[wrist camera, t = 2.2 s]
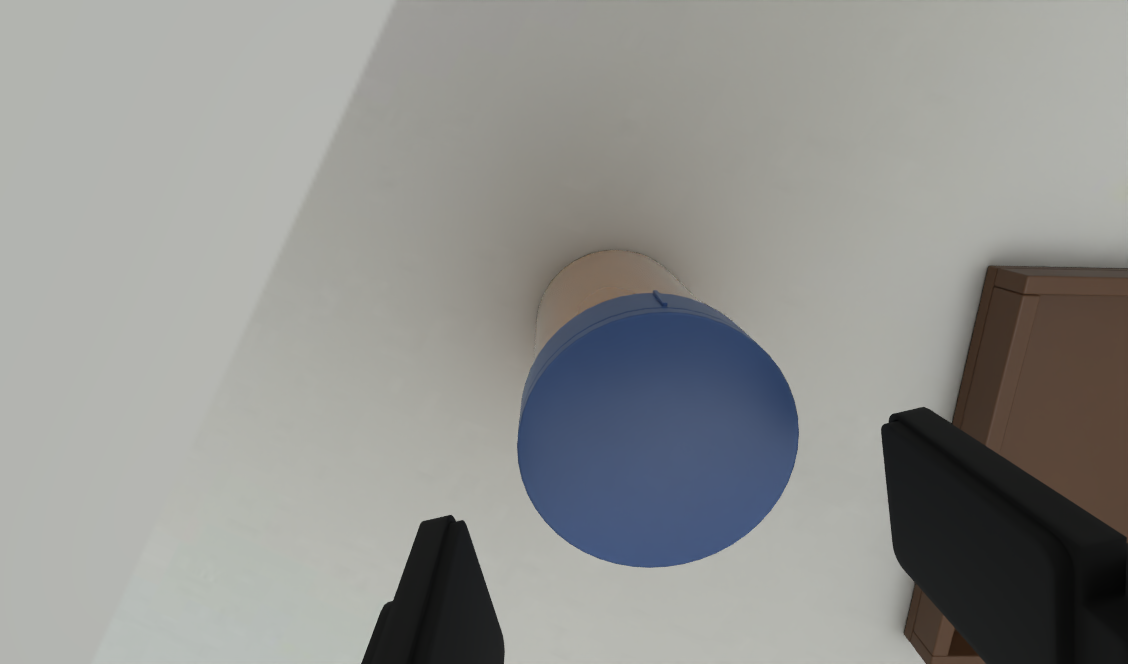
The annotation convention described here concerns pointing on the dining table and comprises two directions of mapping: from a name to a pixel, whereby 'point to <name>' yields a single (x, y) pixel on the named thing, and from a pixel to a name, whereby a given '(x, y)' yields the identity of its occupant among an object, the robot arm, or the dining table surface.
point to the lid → (655, 431)
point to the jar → (599, 287)
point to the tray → (1044, 402)
